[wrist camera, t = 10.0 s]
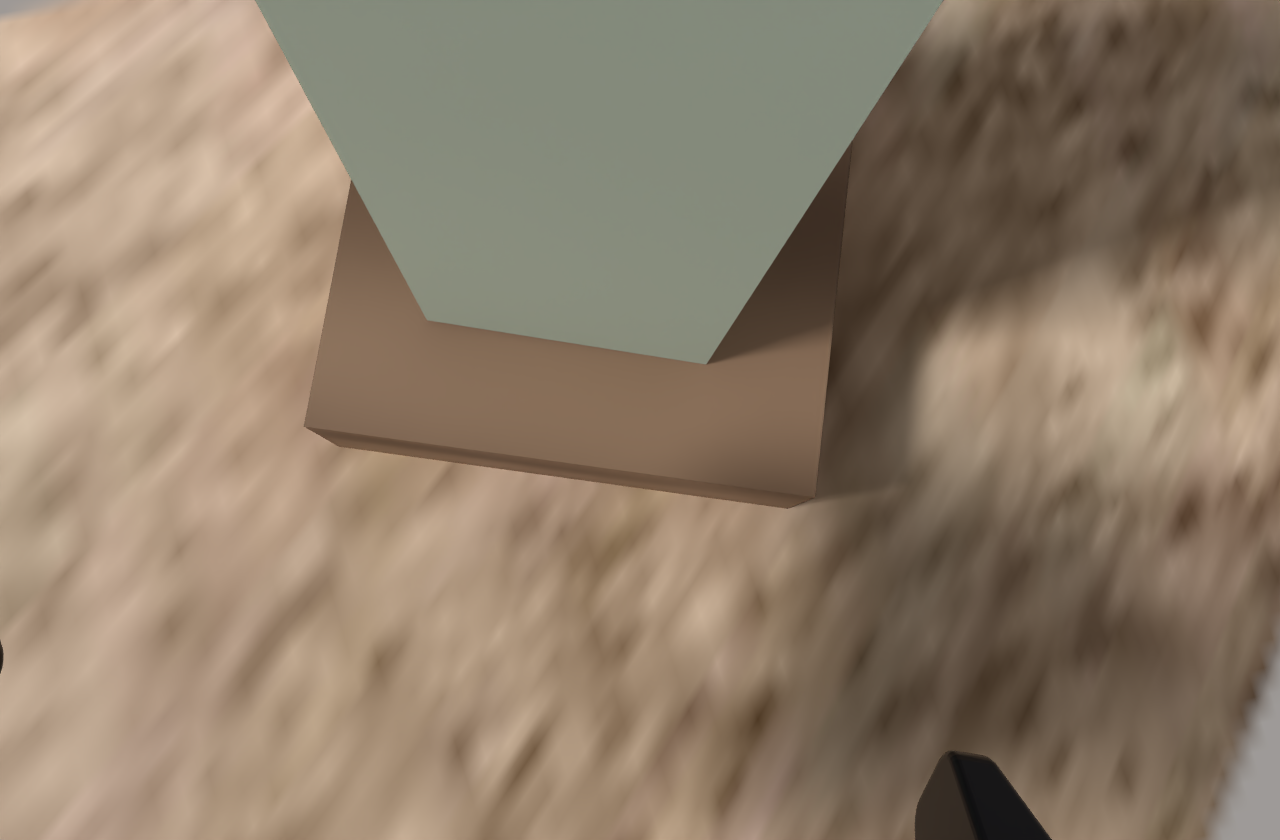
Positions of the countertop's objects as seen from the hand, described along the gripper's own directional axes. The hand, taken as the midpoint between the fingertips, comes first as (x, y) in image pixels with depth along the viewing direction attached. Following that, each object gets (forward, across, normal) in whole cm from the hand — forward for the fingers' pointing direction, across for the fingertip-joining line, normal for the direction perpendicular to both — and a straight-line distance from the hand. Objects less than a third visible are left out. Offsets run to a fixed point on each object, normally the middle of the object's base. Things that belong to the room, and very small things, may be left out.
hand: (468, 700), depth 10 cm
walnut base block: (+13, 0, +2) cm, 13 cm away
